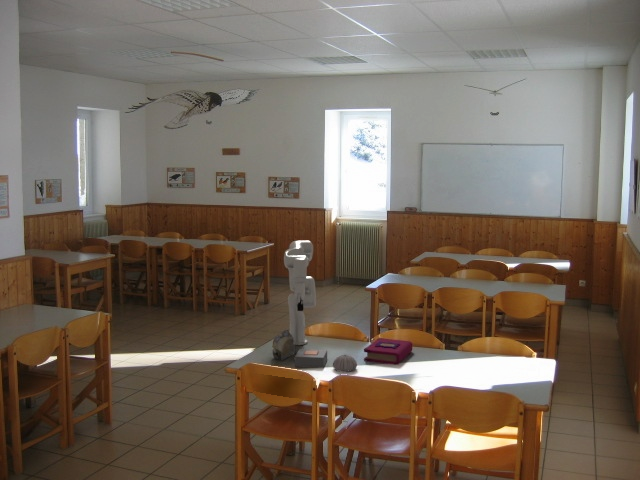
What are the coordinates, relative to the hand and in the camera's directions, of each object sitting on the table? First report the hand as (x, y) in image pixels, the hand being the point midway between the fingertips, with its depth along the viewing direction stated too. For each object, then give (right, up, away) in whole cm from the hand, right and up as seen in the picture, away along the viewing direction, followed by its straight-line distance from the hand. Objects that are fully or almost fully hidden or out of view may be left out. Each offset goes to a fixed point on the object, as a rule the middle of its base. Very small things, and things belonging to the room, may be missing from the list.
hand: (300, 310), depth 384 cm
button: (+6, -26, -9) cm, 28 cm away
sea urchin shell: (+25, -30, -21) cm, 44 cm away
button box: (+6, -28, -8) cm, 30 cm away
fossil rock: (-11, -27, +5) cm, 30 cm away
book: (+51, -27, +3) cm, 58 cm away
